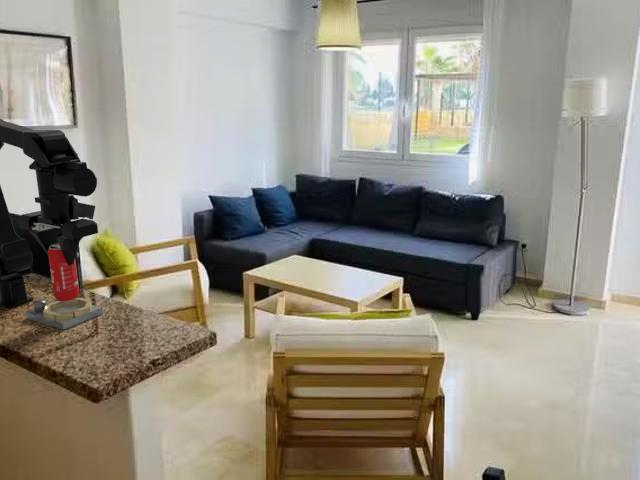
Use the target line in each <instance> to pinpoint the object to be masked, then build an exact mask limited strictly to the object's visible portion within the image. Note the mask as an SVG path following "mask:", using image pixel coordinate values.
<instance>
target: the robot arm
mask: <svg viewBox="0 0 640 480" xmlns="http://www.w3.org/2000/svg"><path fill="white" fill-rule="evenodd" d="M5 144H7V145H10V146H13V147H16V148H20V149H21V150H22V153H23V155H25V156H27V157H28V158H30V159H32V160H33V161H32V162H31V163H30V164H29V166H28V168H29V169H30V170H35V176H36V184H37V185H36V186H37V191H38V196H37V197H34V203H37V204H39V207H40V210H38V211H32V212H28V213H25V214H24V213H23V214H21V215H20V217H19V218H18V226H19V228H20V229H23V230H29V231H28V232H29V234H30V235H32V236H33V238H34V239H35V240H36V242H37V243H38V244H39V245H40V246H41V248H42V249H43V250H44V252H45V253H46V255H47V256H48V249H49V246H50V245H52V244H56V243H59V245H60V248H61V250H62V253H63V255H64V257H65V260H66V262H67V264H68V265H73V264H74V260H76V256H77V253H78V248H79V245H80V242H81V241H82V239H83V238H85V237H89V236H92V235H97V234H99V228H98V227H99V226H98V223H97V222H95V220H94V217H95V212H96V211H95V210H96V205H93V204H88V203H83V202H79V199H78V198H76V197H75V196H78V197H90V196H91V195H92V194H93V193H94V192H95V191H96V188H97V186H98V178H97V176H96V173H95V172H94V171H93V170H92V169H90V168H89V167H88V164H87V162H86V161H82V160H81V159H80V157H79V154H78V153H77V151H76V150H75V149H74V147H73V146H72V143H71V142H70V141H69V139H68V137H67V136H66V134H65V132H63V131H62V130H61V129H33V128H30V127H26V126H23V125H19V124H16V123H13V122H9V121H6V120H4V119H2V118H0V150H2V148H3V147H4V145H5ZM7 205H8V204H7V202H6V199H5V195H4V192H3V189H2V187H1V185H0V307H3V308H6V309H10V308H14V307H16V306H19V305H23V304H25V303H28V302H30V301H33V300H34V297H32V296H29V295H28V293H27V289H26V284H25V278H24V276H27V275H31V274H32V271H33V261H34V255H33V254H34V253H33V252H32V250H31V248H30V243H29V240H28V239H27V238H22V237H21V236H19V235H18V234H17V233H16V230H15V227H14V224H13V221H12V218H11V215H10V212H9V209H8V206H7ZM30 229H31V230H30ZM60 230H61V234H62V235H60V236H58V233H59V232H60Z"/></svg>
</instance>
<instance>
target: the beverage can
mask: <svg viewBox="0 0 640 480" xmlns="http://www.w3.org/2000/svg"><path fill="white" fill-rule="evenodd" d="M47 256H48V262H49V263H48V264H49V270H50V278H51V286H52V293H53V297H54V299H56V300H57V301H60V302H66V301H71V300H74V299H76V298H79V293H80V285H79V279H78V269H77V262H76V259H75V260H74V264H73V265H68V264H67V262H66V260H65V257H64V255H63V253H62V250H61V248H60V245H59V243H58V242H57V243H56V244H52V245H50V246H49V249H48V255H47Z"/></svg>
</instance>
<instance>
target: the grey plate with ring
mask: <svg viewBox="0 0 640 480" xmlns="http://www.w3.org/2000/svg"><path fill="white" fill-rule="evenodd" d="M103 314H104V310H103V307H101V306H98V305H94V304H93V302H92V300H90V299H87V298H83V297H77V298H76V299H74V300H71V301H66V302H60V301H57V300H56V298H54V301H51V302H49V303H48V302H47V299H43V298H41V299H37V300H34V301H33V309H30V310H27V311H25V316H26V317H25V318H26V319H28V320H31V321H34V322H37V323H40V324H44V325H47V326H51V327H54V328H57V329H59V330H62V329H63V330H62V331H65V330H67V328H68V329H70V328H72V327H75V326H77V325H80V324H82V323H85V322H87V321H89V320H91V319H94V318H97V317H99V316H102V315H103ZM84 321H85V322H84ZM81 322H82V323H81ZM79 323H80V324H79ZM74 325H75V326H74ZM69 327H70V328H69ZM64 329H65V330H64Z"/></svg>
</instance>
